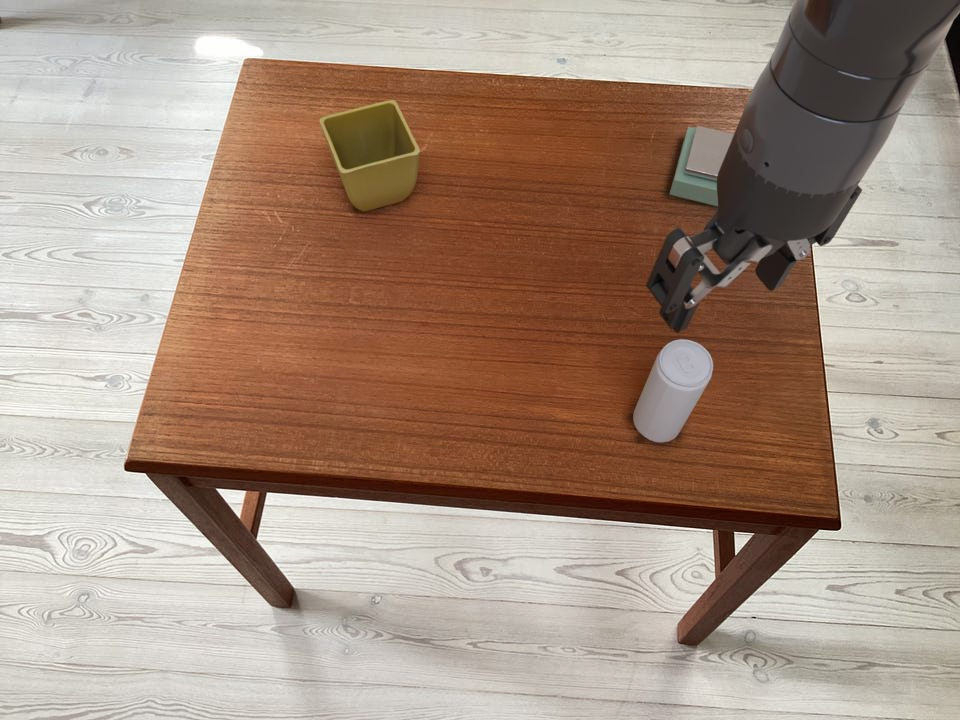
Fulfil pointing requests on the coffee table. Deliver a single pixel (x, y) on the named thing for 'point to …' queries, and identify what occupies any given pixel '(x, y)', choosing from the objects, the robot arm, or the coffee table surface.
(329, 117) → the flower pot
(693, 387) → the beverage can
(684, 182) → the scale
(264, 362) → the coffee table surface
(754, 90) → the robot arm
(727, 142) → the scale pan
